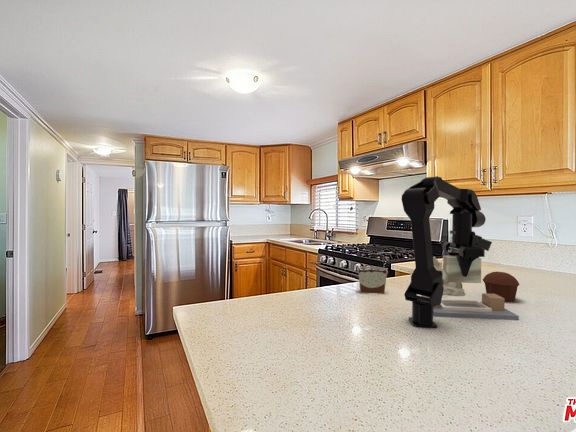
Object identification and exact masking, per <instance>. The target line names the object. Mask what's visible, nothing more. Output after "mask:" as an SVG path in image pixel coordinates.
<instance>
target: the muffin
mask: <svg viewBox="0 0 576 432" xmlns="http://www.w3.org/2000/svg"><path fill="white" fill-rule="evenodd" d="M482 281H483V282H484V286H485V287H484V288H485V293H488V294H496V295H498V296H500V297H502V298H505V303H514V302H516V297H517V292H518V291H517V290H518V287H519V286H520V283H519V280H517V278H516V277H515V276H513V275H512V274H510V273H507V272H503V271H492V272H489V273H487V274H485V276H484V277H483V278H482Z"/></svg>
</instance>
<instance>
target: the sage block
mask: <svg viewBox="0 0 576 432" xmlns="http://www.w3.org/2000/svg"><path fill="white" fill-rule="evenodd" d="M442 269H443V279H444V280H445V281H447V282H459V283H462V284H463V283H464V284H465V283H466V284H467V283H468V284H482V257H479V258H477V259H475V260H474V261H473V262H472V264H471V266H470V269H469V272H468V275H467V277H464V276H463V275H462V272H461V269H460V266H459V263H458V260H457V257H456V256H448V255H442Z"/></svg>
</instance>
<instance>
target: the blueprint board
mask: <svg viewBox="0 0 576 432" xmlns="http://www.w3.org/2000/svg"><path fill="white" fill-rule="evenodd" d="M421 296H422V295H421ZM422 297H426V298H430V297H427V296H422ZM505 303H506V302H505V298H502V297H500V296H498V295H496V294H488V293H486V292H482V293H481V301H479V300H471V299H470V300H469V299H447V298H446V299H445V298H444V299H443V298H442V300H441V304H440V305H437V306H434V307H433V317H442V318H443V317H448V318H449V317H450V318H466V319H467V318H469V319H488V320H492V319H493V320H509V321H510V320H515V321H519V320H520V315H518V314H516V313H515V312H512V311H511V310H509V309H507V308H505Z"/></svg>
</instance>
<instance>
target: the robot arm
mask: <svg viewBox="0 0 576 432" xmlns="http://www.w3.org/2000/svg"><path fill="white" fill-rule="evenodd" d="M442 178H443V177H440V176H427V177H425V178H422V180H420V181H419V182H417V183H415V184H414V185H412V186H410V187H409V188H406V189H405V190H404V192H403V193H402V194H401V203H402V207H403V208H402V209H403V212H404V213H405V214H406V216H407V217H408V218H409V220H410V226H411V227H410V228H411V235H412V245H413V256H414V265H415V268H414V269H413V272H412V274H411V275H410V283H409V285H408V287H407V288H406V290H405V292H404V298H405V301H408V302H411V317H408V321H409V322H410V323H411V325H412V326H413V327H420V328H421V327H422V328H439V327H438V324H437V323H436V322H435V320H434V316H433V307H434V306H437V305H440V304H441V300H442V299H443V296H444V295H443V290H444V287H443V284H444V283H443V280H442V272H441V271H439V270H436V269H435V267H434V262H433V257H434V255H433V254H434V253H433V245H432V244H433V243H432V234H431V233H432V232H431V224H430V223H431V221H430V218H431V215H432V214H433V212H434V210H435V202H436V201H437V200H438V199H439V198H443V199H445V200H447V201H446V202H447V204H448V205H449V206H450V207H451V208H452V209H451V210H450V211H449V215H452V217H451V219H452V223H451V224H452V226H451V227H452V228H451V230H449V234H451V241H444V242H443V244H442V250H443V251H445V254H447V255H446V256H456V257H457V260H458V263H459V266H460V269H461V272H462V275H463V276H464V277H467V275H468V272H469V269H470V266H471V264H472V262H473V261H474V260H475V259H477V258H485V257H486V256H485V253H486V252H485V251H487V252H489V251H490V248H491V247H492V244H493V241H491V240H487V239H485V238H483V237H482V236H480V235H477V234H476V232H475V231H473V228H480V227H483V226H484V225H485V223H486V220H487V219H486V216H485V215H484V213H483V212H481V211H482V207H481V204H480V201H479V198H478V195H477V193H476V192H475V191H474V190H473V189H469V188H459V187H457V186H455V185H453V184H451V183H449V182H448V181H446V180H444V179H442ZM422 296H427V297H430V298H426V297H422Z"/></svg>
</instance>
